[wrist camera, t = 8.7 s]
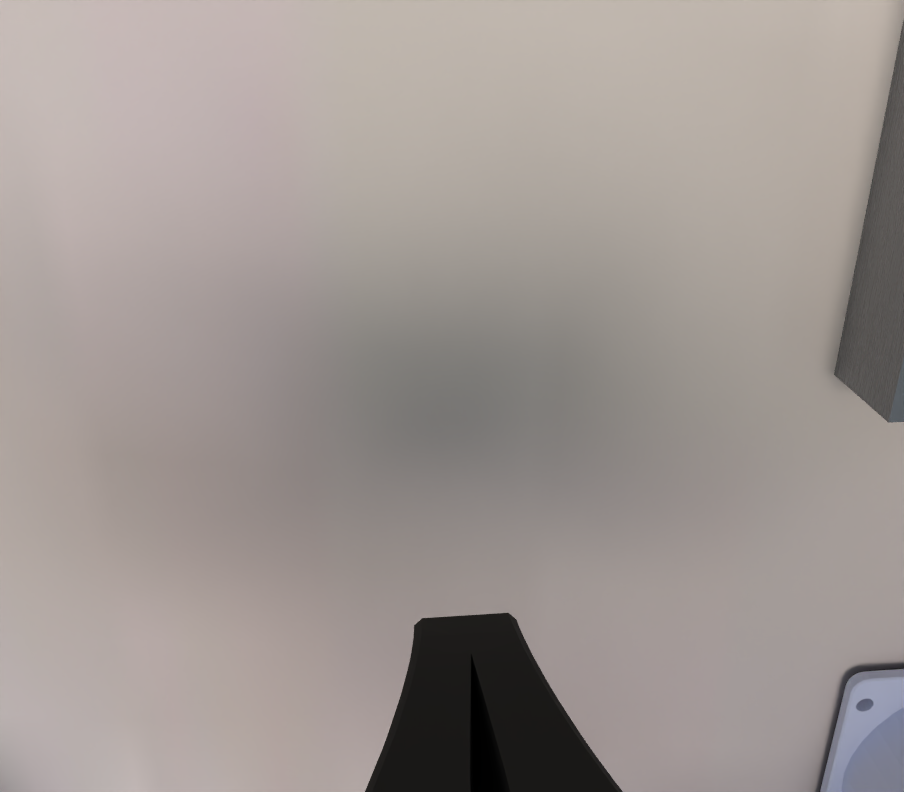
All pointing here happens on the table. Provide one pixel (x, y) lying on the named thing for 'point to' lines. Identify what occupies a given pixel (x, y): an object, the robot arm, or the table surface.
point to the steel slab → (880, 275)
